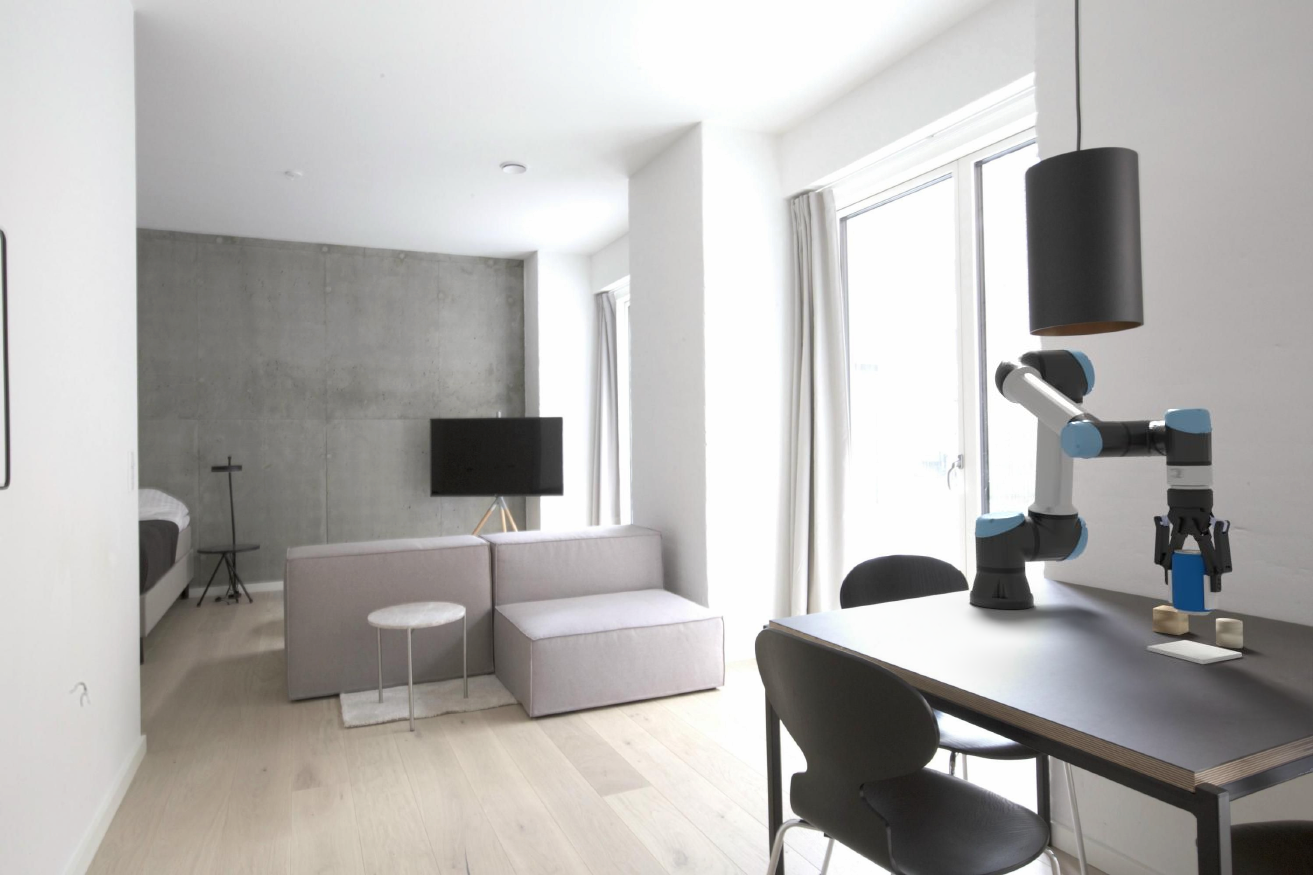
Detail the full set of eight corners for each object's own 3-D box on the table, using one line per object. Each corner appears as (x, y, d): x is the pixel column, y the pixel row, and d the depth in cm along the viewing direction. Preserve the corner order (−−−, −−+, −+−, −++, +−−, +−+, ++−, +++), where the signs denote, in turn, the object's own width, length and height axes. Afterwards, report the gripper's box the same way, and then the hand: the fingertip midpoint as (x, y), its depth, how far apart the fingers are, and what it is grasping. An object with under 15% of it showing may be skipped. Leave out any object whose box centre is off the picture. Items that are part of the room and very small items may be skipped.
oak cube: (1153, 631, 175) (1152, 608, 175) (1163, 627, 178) (1162, 605, 178) (1178, 635, 171) (1178, 612, 171) (1188, 631, 174) (1188, 608, 174)
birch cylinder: (1210, 643, 163) (1210, 619, 163) (1226, 641, 165) (1226, 617, 165) (1232, 649, 159) (1232, 623, 159) (1248, 646, 161) (1248, 622, 161)
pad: (1147, 650, 160) (1147, 646, 160) (1185, 643, 164) (1185, 639, 164) (1202, 664, 150) (1202, 659, 150) (1241, 656, 154) (1241, 652, 154)
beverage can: (1219, 616, 153) (1217, 553, 153) (1182, 615, 154) (1180, 553, 154) (1203, 609, 159) (1202, 549, 159) (1167, 608, 160) (1166, 548, 161)
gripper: (1130, 486, 164) (1133, 598, 164) (1227, 490, 146) (1231, 616, 146) (1156, 484, 167) (1159, 595, 167) (1254, 488, 149) (1258, 612, 149)
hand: (1192, 605), depth 157 cm, fingers closed on beverage can, 6 cm apart
